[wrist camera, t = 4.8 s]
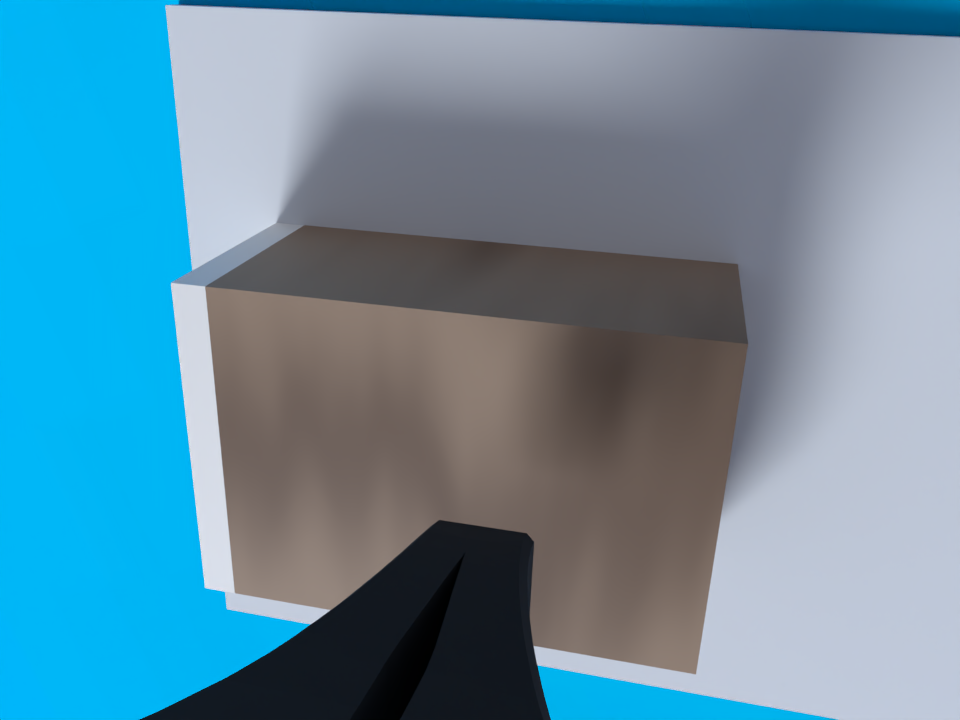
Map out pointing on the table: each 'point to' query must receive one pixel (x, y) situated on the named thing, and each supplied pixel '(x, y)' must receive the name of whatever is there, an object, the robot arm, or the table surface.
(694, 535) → the walnut block
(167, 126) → the table surface
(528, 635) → the robot arm
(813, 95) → the white mat
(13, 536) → the table surface
